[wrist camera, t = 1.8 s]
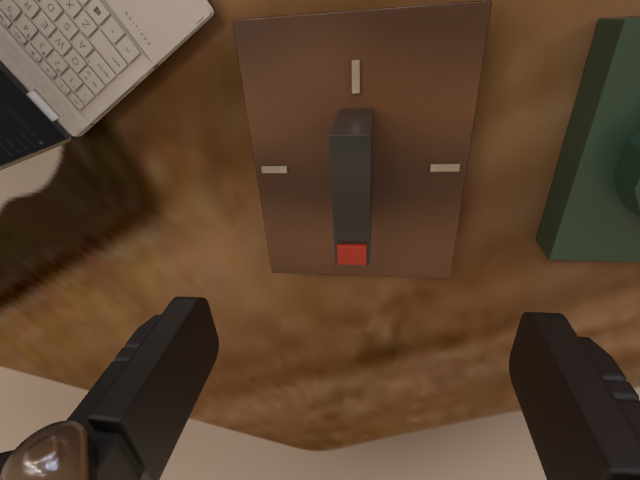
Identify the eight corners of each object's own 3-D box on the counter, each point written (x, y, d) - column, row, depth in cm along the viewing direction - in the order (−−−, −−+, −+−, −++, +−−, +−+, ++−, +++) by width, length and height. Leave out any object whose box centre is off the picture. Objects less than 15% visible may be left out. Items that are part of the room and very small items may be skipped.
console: (251, 18, 19) (230, 19, 16) (476, 2, 17) (493, -1, 15) (282, 248, 26) (271, 274, 23) (443, 251, 24) (450, 280, 22)
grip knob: (339, 109, 18) (327, 137, 14) (373, 107, 17) (371, 136, 13) (342, 219, 21) (334, 268, 17) (371, 219, 21) (369, 269, 17)
